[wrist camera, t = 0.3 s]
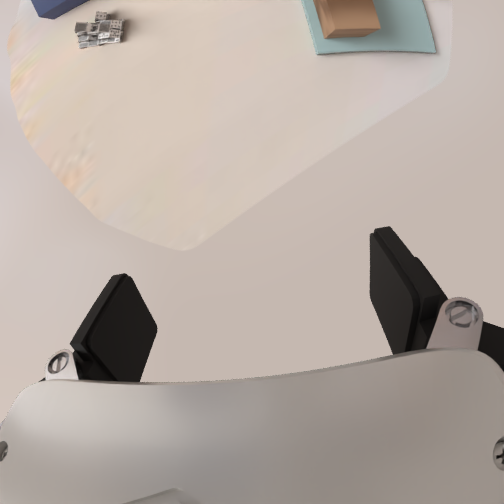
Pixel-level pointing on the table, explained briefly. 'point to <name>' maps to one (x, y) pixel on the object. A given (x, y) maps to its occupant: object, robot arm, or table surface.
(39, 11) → the blue angular block
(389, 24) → the board
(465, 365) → the robot arm
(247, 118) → the table surface
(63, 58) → the table surface
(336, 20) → the walnut brick
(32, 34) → the table surface
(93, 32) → the miniature building cluster
